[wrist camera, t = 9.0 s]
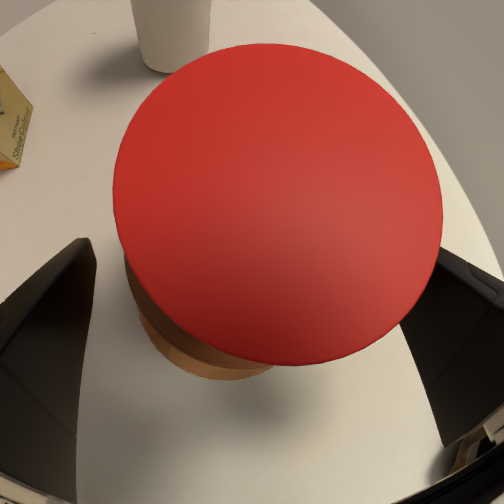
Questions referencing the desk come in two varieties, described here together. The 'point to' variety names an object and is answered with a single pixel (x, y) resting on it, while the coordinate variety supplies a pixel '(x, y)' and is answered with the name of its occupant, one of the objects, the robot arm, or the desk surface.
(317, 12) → the desk surface
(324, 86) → the cap
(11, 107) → the shoe polish box
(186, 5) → the beverage can
